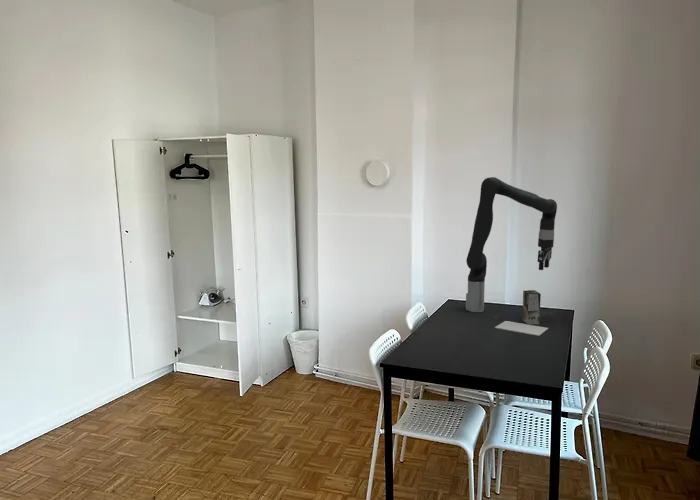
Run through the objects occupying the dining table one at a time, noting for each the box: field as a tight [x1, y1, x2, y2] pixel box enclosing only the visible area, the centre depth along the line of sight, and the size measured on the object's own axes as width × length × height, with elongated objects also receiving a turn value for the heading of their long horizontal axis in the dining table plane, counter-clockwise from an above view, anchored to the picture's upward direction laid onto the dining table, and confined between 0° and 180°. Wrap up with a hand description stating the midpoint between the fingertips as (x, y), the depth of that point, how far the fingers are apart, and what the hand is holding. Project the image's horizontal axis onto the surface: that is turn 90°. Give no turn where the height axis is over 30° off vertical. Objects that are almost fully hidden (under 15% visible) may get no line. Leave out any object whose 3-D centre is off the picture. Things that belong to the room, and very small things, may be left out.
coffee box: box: [521, 289, 542, 326], centre depth 272 cm, size 9×6×16 cm
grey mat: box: [494, 320, 549, 337], centre depth 262 cm, size 22×14×1 cm, turn 52°
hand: (543, 268), depth 274 cm, fingers open, 8 cm apart
